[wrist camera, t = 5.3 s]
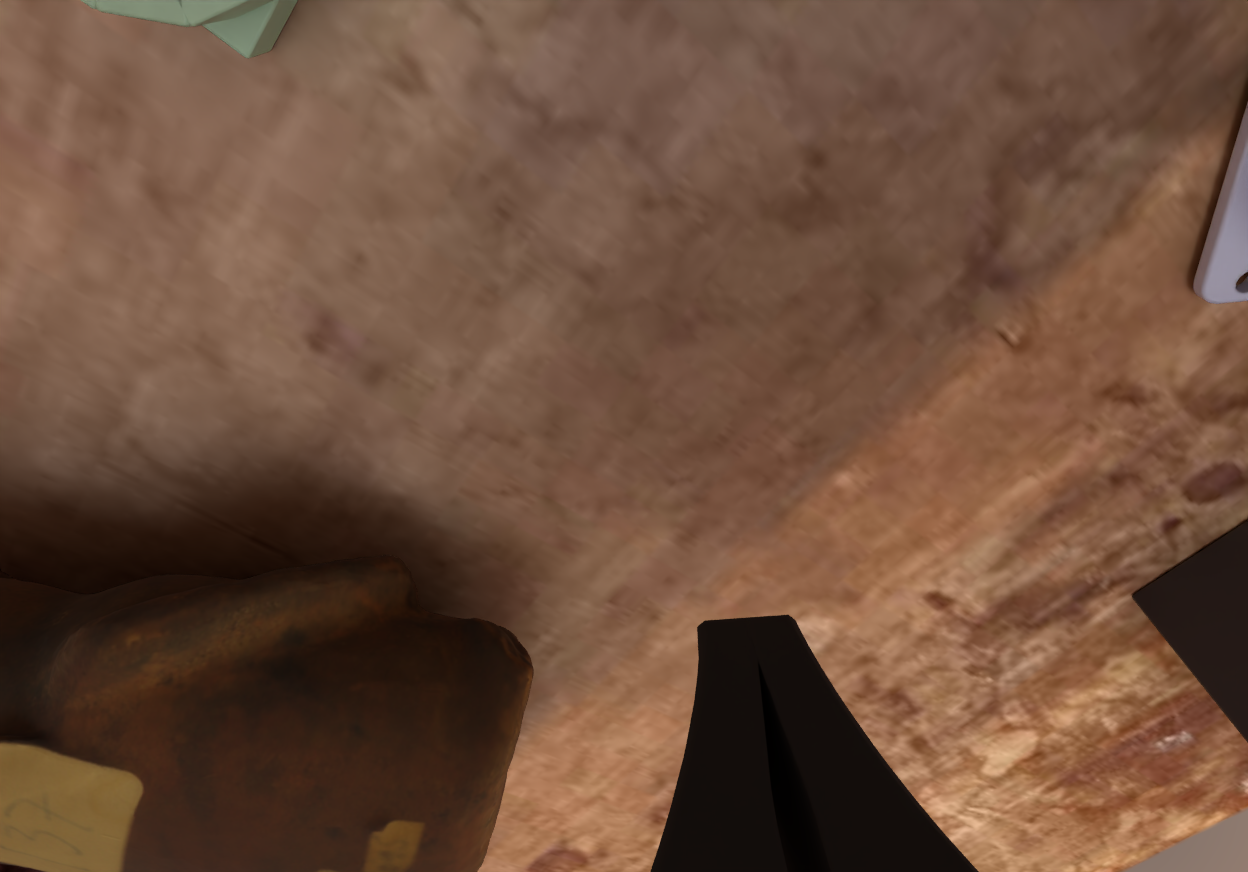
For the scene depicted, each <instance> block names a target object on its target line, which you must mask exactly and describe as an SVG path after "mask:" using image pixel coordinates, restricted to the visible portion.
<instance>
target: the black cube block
mask: <svg viewBox="0 0 1248 872" xmlns="http://www.w3.org/2000/svg"><path fill="white" fill-rule="evenodd" d="M1132 598H1133V600H1134V601H1135V602H1136V603H1137V605H1138V606H1139V607H1140V608H1141V610H1142V611H1143V612H1144V613H1145V615H1146V616H1147V617H1148V618H1149V620H1150V621H1151V622H1152V623H1153V625H1154V626H1155V627H1156V628H1157V630H1158V631H1159V632H1160V633H1161V635H1162V636H1163V637H1164V638H1165V640H1166V641H1167V642H1168V643H1169V645H1170V646H1171V647H1172V648H1173V650H1174V651H1175V652H1176V653H1177V655H1178V656H1179V657H1180V658H1181V660H1182V661H1183V662H1184V663H1185V665H1186V666H1187V667H1188V668H1189V670H1190V671H1191V672H1192V673H1193V675H1194V676H1195V677H1196V678H1197V680H1198V681H1199V682H1200V683H1201V685H1202V686H1203V687H1204V688H1205V690H1206V691H1207V692H1208V693H1209V695H1210V696H1211V697H1212V698H1213V700H1214V701H1215V702H1216V703H1217V705H1218V706H1219V707H1220V708H1221V710H1222V711H1223V712H1224V713H1225V715H1226V716H1227V717H1228V718H1229V720H1230V721H1231V722H1232V723H1233V725H1234V726H1235V727H1236V728H1237V730H1238V731H1239V732H1240V733H1241V735H1242V736H1243V737H1244V739H1245V740H1246V741H1247V742H1248V521H1246V522H1245V523H1243V524H1242V525H1240V526H1239V527H1237V528H1235V529H1234V530H1232V531H1231V532H1229V533H1228V534H1226V535H1225V536H1223V537H1222V538H1220V539H1219V540H1217V541H1215V542H1214V543H1212V544H1211V545H1209V546H1208V547H1206V548H1205V549H1203V550H1202V551H1200V552H1199V553H1197V554H1195V555H1194V556H1192V557H1191V558H1189V559H1188V560H1186V561H1185V562H1183V563H1182V564H1180V565H1178V566H1177V567H1175V568H1174V569H1172V570H1171V571H1169V572H1168V573H1166V574H1165V575H1163V576H1162V577H1160V578H1158V579H1157V580H1155V581H1154V582H1152V583H1151V584H1149V585H1148V586H1146V587H1145V588H1143V589H1142V590H1140V591H1138V592H1137V593H1135V594H1134V595H1133V596H1132Z"/></svg>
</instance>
